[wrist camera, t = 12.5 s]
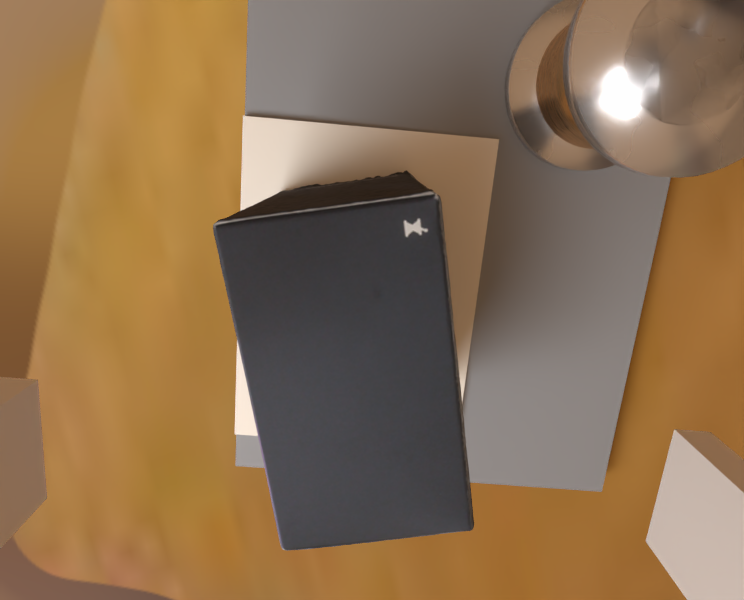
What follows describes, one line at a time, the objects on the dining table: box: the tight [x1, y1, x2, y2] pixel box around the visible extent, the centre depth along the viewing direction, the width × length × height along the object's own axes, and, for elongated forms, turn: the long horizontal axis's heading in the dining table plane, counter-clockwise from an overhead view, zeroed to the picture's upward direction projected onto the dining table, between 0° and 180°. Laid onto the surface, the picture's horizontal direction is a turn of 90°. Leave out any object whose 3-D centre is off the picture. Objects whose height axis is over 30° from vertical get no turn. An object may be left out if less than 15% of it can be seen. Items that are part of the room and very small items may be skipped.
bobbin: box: [505, 0, 744, 177], centre depth 20 cm, size 7×7×8 cm
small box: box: [213, 170, 474, 550], centre depth 20 cm, size 11×6×10 cm, turn 8°
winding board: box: [235, 0, 671, 492], centre depth 26 cm, size 19×24×2 cm
